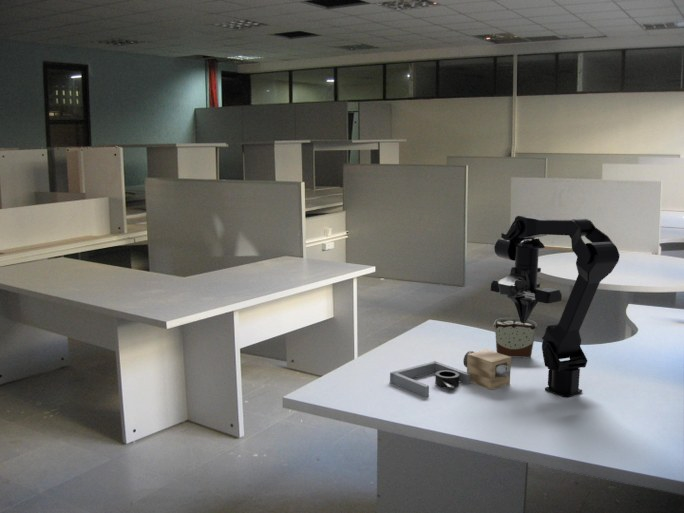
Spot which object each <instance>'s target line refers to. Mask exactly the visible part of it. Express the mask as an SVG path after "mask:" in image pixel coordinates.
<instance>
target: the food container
mask: <svg viewBox="0 0 684 513" xmlns="http://www.w3.org/2000/svg"><path fill="white" fill-rule="evenodd" d="M538 328H539V327H538V325H537V322H536V321H534V320H531V319H529V318H528V319H527V321H526V323H521V321H520V318H519V317H502V318H497V319H496V320H495V321H494V322H493V325H492V330H494V331H495V332H494V334H495V346H496V348H495V349H496V351H495V352H497V353H500V354H503V355H506V356H509V357H511V358H521V357H523V358H528V359H532V353H533V348H534V341H535V336H536V331H539V329H538ZM523 358H522V359H523Z"/></svg>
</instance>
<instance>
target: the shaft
mask: <svg viewBox="0 0 684 513" xmlns="http://www.w3.org/2000/svg"><path fill="white" fill-rule="evenodd" d="M474 352H475V351H472V350H469V351H467V352H466V353H465V354H464V356H463V365H464V367H465V368H466V369H467V356H468V354H470V353H474ZM509 373H510V374H511V371H510V368H509V367H508V366H505V365H502V364H498V365H496V369H495V374H496V375H499V376H502V377H505V378H506V377H507V376H508V375H509Z"/></svg>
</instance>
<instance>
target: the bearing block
mask: <svg viewBox="0 0 684 513" xmlns="http://www.w3.org/2000/svg"><path fill="white" fill-rule="evenodd" d="M473 352H474V353H470V354H468V356H467V368H466V372H467V373H470V374H471V384H474V385H477V386H479V387H482V388H485V389H488V390H490V391H492V390H495V389H499V388H502V387H505V386H509V385H510V384H511V369H512V365H511V364H512V357H509V356H506V355H503V354H500V353H497V351H493V350H490V349H486V348H485V349H482V350H478V351H473ZM498 364H502V365H505V366H508V367H509V368H510V373H509V375H508V376H507V377H506V378H505V377H502V376H499V375H496V374H495V369H496V365H498Z"/></svg>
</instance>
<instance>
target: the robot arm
mask: <svg viewBox="0 0 684 513" xmlns="http://www.w3.org/2000/svg"><path fill="white" fill-rule="evenodd" d="M552 235H553V236H569V238H570V240H571V250H572V251H573V253H574V254H575V256H576V262H575V265H576V270H577V277H576V279H575V282H574V284H573V287H572V289H571V292H570V295H569V296H568V300H567V301H566V304H565V306H564V308H563V312H562V313H561V317H560V319H559V321H558V323H557V324H551V325H548V326H546V328H545V333H544V335H543V336H542V337H541V340H543V341H542V343H541V352H542V356H543V363H544V366H545V367H546V368H547V369H548V375H547V386H546V387H544V390H545V391H547V392H550V393H551V394H552V393H553V394H555V395H559V396H562V397H565V398H570V397H572V396H574V395H578V394H580V393H581V394H582V393H583V389H580V388H579V387H580V376H581V375H580V373H581V372H580V371H581V368H586V366H587V363H588V358H587V357H586V355H585V353H584V351H583V349H582V348H581V345H582V340H583V339H582V337H581V333H580V329H581V328H582V325H583V323H584V320H585V318H586V315H587V313H588V311H589V309H590V306H591V304H592V302H593V300H594V296H595V294H596V292H597V291H598V290H597V289H598V287H599V285H600V283H601V281H603V280H604V279H605V278H607V276H609V274H611V273H612V272H613V270H614V269H615V267H616V266H617V265H618V263H619V261H620V255H621V254H620V253H619V249H618V247H617V246H616V244H615V243H614V242H613V241H612V239H611V238H610V237H609V236H608V235H607V234H605V233H604V232H603V231H601V230H600V229H598V228H597V227H596V226H595V224H594V223H593V221H591V220H590V219H587V218H576V219H552V218H547V216H543V215H540V214H532V215H531V214H530V215H528V214H527V215H517V216H515V218H514V220H513V221H512V223H511V225H510V227H509V229H508V230H507V232H501V237H500V238H498V239H497V241H496V242H495V245H494V248H493V249H494V253H495V254H496V257H499V258H502V259H506V260H509V261H513V262H514V266H512V267H511V269H510V273H509V275H506V276H504V277H503V278H500V279H493V280H492V282H491V283H490V291H491V292H495V293H499V294H500V295H505V296H506V297H507V298H508V299H510V300H511V301H512V302H513V303H514V305H515V308H516V311H517V315H518V318H520V321H521V323H526V321H527V319H528V320H529V318H530V316H531V314H532V312H533V311H534V308H535V307H536V305H538V303H542V304H553V303H559V302H561V301H562V300H563V299H562V296H563V295H562V294H563V293H562V292H561V290H560V289H558V288H557V289H556V288H552V287H544V288H541V283H538V273H541V272H542V267H539V250H541V249H545V247H546V246H545V244H544V243H543V242H542V241H541V239H540V238H541V237H544V236H552ZM582 237H584V238H585V239H587V240H588V241H589V242H585V241H584V240H583V238H582ZM538 288H539V289H538ZM563 359H564V360H563ZM565 359H567V360H565Z"/></svg>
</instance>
